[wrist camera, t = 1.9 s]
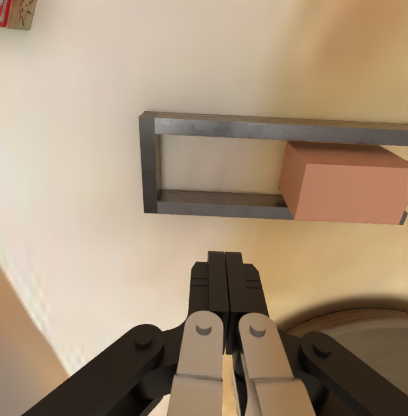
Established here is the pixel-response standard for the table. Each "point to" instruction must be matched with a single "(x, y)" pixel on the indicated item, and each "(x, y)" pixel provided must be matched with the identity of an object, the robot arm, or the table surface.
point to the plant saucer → (368, 339)
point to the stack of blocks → (17, 13)
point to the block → (344, 183)
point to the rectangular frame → (242, 128)
